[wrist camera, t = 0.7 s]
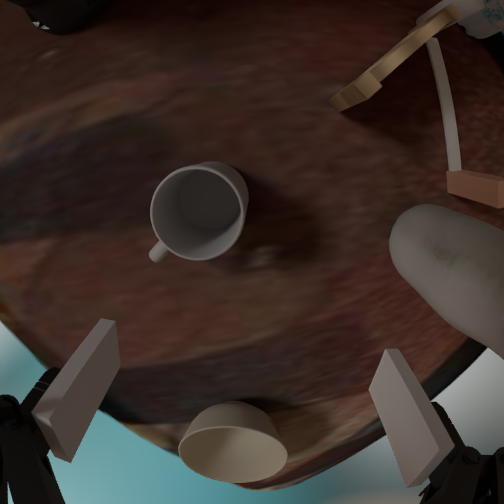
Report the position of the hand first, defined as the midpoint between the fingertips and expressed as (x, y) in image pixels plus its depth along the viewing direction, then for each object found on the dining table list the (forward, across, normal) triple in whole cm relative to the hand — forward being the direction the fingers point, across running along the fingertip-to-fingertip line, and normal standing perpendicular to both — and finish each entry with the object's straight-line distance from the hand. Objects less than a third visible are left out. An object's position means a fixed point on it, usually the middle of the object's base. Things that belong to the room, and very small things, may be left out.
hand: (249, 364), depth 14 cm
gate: (+24, +13, +23) cm, 36 cm away
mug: (+26, -6, +2) cm, 26 cm away
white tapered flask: (+25, +21, +2) cm, 33 cm away
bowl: (+25, +1, -31) cm, 40 cm away
